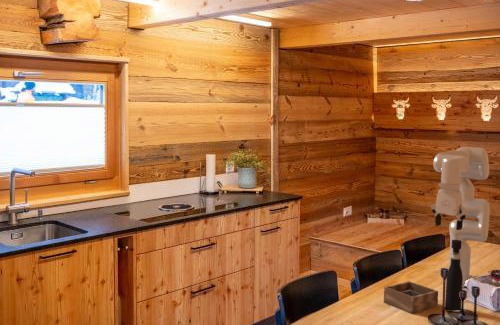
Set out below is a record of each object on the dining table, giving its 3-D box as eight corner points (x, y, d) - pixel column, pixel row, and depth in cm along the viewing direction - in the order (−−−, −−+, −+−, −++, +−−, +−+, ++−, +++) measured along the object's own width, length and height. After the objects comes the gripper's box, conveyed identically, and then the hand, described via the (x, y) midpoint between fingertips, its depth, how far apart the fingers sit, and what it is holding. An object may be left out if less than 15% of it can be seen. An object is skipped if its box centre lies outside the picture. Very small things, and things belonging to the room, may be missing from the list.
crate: (408, 296, 262) (409, 281, 261) (437, 307, 249) (438, 291, 248) (383, 302, 253) (384, 287, 252) (412, 314, 240) (412, 297, 239)
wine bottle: (441, 308, 247) (445, 239, 244) (453, 306, 250) (457, 238, 246) (451, 313, 241) (455, 243, 238) (464, 311, 244) (468, 241, 240)
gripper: (426, 185, 244) (425, 225, 246) (464, 191, 231) (462, 232, 233) (436, 183, 249) (435, 222, 251) (474, 189, 235) (472, 230, 238)
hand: (448, 227), depth 242 cm, fingers open, 9 cm apart
